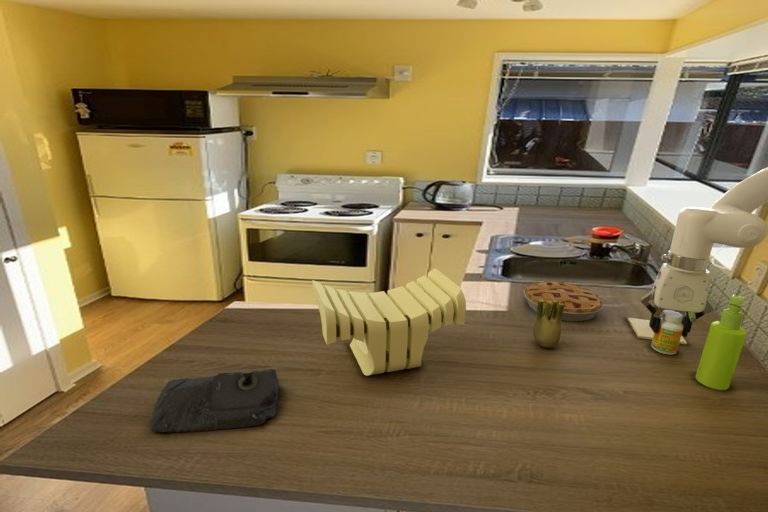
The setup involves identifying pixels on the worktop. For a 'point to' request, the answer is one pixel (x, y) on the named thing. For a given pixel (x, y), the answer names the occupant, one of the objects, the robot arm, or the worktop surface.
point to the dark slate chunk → (216, 402)
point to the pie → (564, 299)
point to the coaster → (646, 329)
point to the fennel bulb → (548, 324)
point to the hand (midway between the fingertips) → (668, 331)
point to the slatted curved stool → (390, 320)
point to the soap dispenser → (723, 347)
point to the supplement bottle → (668, 333)
